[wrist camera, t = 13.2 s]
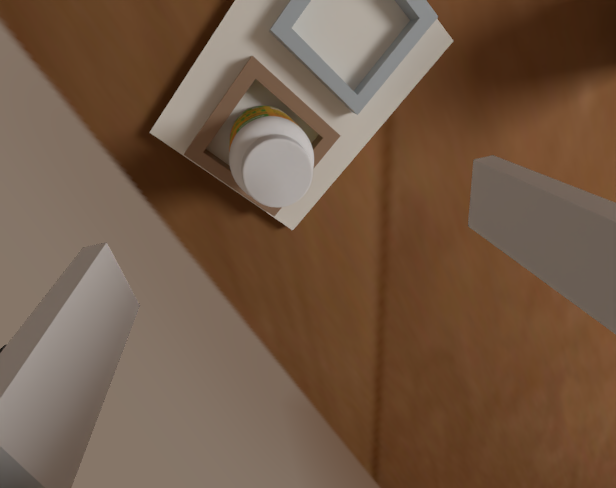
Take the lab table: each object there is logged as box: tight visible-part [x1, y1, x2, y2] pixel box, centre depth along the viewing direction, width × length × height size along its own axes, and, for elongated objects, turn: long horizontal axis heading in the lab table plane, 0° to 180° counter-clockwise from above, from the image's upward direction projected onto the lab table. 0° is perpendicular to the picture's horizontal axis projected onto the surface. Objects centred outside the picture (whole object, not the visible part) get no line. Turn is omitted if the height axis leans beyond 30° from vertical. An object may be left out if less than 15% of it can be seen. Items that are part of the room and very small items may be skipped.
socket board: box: [149, 0, 453, 230], centre depth 26 cm, size 14×20×3 cm
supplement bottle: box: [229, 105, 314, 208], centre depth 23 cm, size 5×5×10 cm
